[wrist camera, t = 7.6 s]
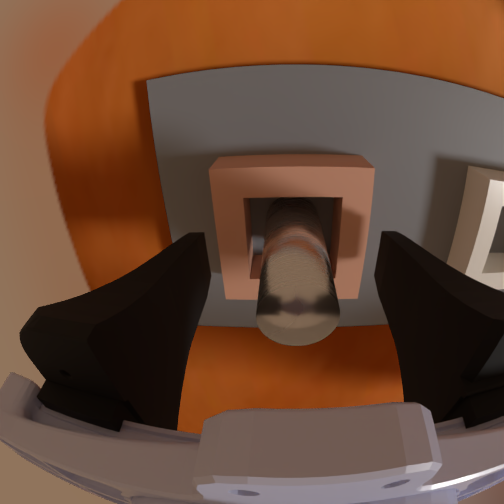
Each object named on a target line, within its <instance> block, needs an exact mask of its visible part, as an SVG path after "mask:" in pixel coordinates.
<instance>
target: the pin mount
mask: <svg viewBox="0 0 504 504" xmlns="http://www.w3.org/2000/svg"><path fill="white" fill-rule="evenodd" d="M502 206H504V172H503V171H498V170H492V169H486V168H480V167H474V166H468V171H467V177H466V183H465V189H464V194H463V199H462V204H461V209H460V214H459V218H458V222H457V227H456V231H455V235H454V239H453V242H452V246H451V250H450V253H449V257H448V260H447V263H446V264H448V265H450V266H451V267H453V268H454V269H456V270H458V271H460V272H462V273H463V274H465V275H467V276H469V277H471V278H473V279H475V280H477V281H479V282H481V283H483V284H485V285H488V286H490V287H492V288H494V289H497V290H500V289H504V253H489V251H490V248H491V244H492V241H493V238H494V235H495V231H496V228H497V224H498V220H499V216H500V213H501V208H502Z"/></svg>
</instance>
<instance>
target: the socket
mask: <svg viewBox="0 0 504 504" xmlns="http://www.w3.org/2000/svg"><path fill="white" fill-rule="evenodd" d="M374 174H375V168H374V167H373V166H372V165H371V164H370V163H369V162H368V161H367V160H366V159H365V158H364V157H363V156H361V155H332V154H273V155H244V156H225V157H218V159H217V160H216V161H215V162H214V163H213V165H212V166H211V167H210V169H209V177H210V186H211V194H212V202H213V210H214V218H215V225H216V233H217V240H218V248H219V255H220V262H221V269H222V276H223V283H224V290H225V297H226V299H237V300H258V291H259V282H260V273H261V263H262V255H253V242H252V228H251V214H250V200H249V198H264V197H334V202H333V219H332V234H331V247H330V254H328V257H329V261H330V265H331V270H332V274H333V279H334V283H335V288H336V293H337V297H338V299H358V294H359V288H360V283H361V277H362V271H363V265H364V259H365V252H366V246H367V239H368V231H369V223H370V215H371V206H372V196H373V186H374Z"/></svg>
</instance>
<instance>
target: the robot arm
mask: <svg viewBox="0 0 504 504" xmlns="http://www.w3.org/2000/svg"><path fill="white" fill-rule="evenodd" d="M374 278H375V282H376V287H377V291H378V296H379V299H380V301H381V304H382V307H383V310H384V313H385V315H386V318H387V321H388V324H389V327H390V330H391V332H392V335H393V338H394V342H395V345H396V349H397V354H398V359H399V365H400V370H401V378H402V385H403V394H404V402H391V403H383V404H374V405H364V406H352V407H338V408H317V409H261V408H253V409H239V410H227V411H224V412H222V413H220V414H217V415H215V416H213V417H210V418H208V419H206V420H204V425H203V430H202V434H195V433H188V432H181V431H177V425H178V415H179V407H180V400H181V393H182V387H183V381H184V375H185V369H186V365H187V360H188V355H189V350H190V347H191V343H192V340H193V337H194V334H195V331H196V328H197V326H198V323H199V320H200V317H201V314H202V311H203V308H204V305H205V302H206V299H207V296H208V291H209V286H210V281H211V271H210V265H209V259H208V252H207V246H206V240H205V233H204V232H189V233H187V234H186V235H184V236H182V237H181V238H180V239H178V240H177V241H175V242H174V243H173V244H171V245H170V246H168V247H167V248H166V249H164V250H163V251H161V252H160V253H159V254H157V255H156V256H154V257H153V258H151V259H150V260H148V261H147V262H145V263H144V264H142V265H141V266H139V267H138V268H136V269H135V270H133V271H131V272H130V273H128V274H126V275H124V276H122V277H120V278H119V279H117V280H115V281H113V282H111V283H108V284H106V285H104V286H102V287H100V288H97V289H95V290H93V291H91V292H88V293H85V294H83V295H80V296H77V297H74V298H71V299H68V300H65V301H61V302H57V303H54V304H50V305H46V306H42V307H38V308H37V310H36V311H35V312H34V313H33V315H32V316H31V317H30V318H29V320H28V321H27V322H26V324H25V325H24V326H23V328H22V329H21V331H20V341H21V344H22V347H23V349H24V350H25V352H26V354H27V355H28V357H29V358H30V359H31V361H32V362H33V364H34V365H35V366H36V367H37V369H38V370H39V371H40V373H41V374H42V375H43V377H44V378H45V379H46V381H45V383H44V384H43V386H42V388H40V387H39V386H38V385H37V384H36V383H34V382H33V381H31V380H30V379H28V378H25V377H23V376H20V375H18V374H16V373H13V372H11V373H10V374H9V376H8V377H7V379H6V381H5V382H4V384H3V386H2V387H1V389H0V440H1V441H2V442H3V443H4V444H6V445H7V446H8V447H9V448H11V449H12V450H13V451H15V452H16V453H17V454H19V455H20V456H21V457H23V458H24V459H26V460H27V461H29V462H31V463H32V464H34V465H36V466H38V467H40V468H41V469H43V470H45V471H47V472H49V473H51V474H52V475H54V476H56V477H58V478H60V479H62V480H64V481H66V482H68V483H70V484H72V485H74V486H76V487H78V488H81V489H83V490H85V491H87V492H90V493H92V494H94V495H97V496H99V497H102V498H104V499H106V500H109V501H112V502H114V503H117V504H458V501H461V500H463V499H466V498H468V497H470V496H473V495H475V494H477V493H479V492H482V491H484V490H486V489H488V488H490V487H492V486H494V485H496V484H498V483H500V482H502V481H504V292H502V291H499V290H497V289H494V288H492V287H490V286H488V285H485V284H483V283H481V282H479V281H477V280H475V279H473V278H471V277H469V276H467V275H465V274H463V273H462V272H460V271H458V270H456V269H454V268H453V267H451V266H450V265H448V264H446V263H445V262H443V261H442V260H440V259H439V258H437V257H436V256H434V255H433V254H431V253H430V252H428V251H427V250H425V249H424V248H422V247H421V246H419V245H418V244H416V243H415V242H414V241H412V240H411V239H409V238H408V237H406V236H404V235H403V234H401V233H399V232H397V231H381V238H380V244H379V250H378V256H377V261H376V267H375V272H374Z"/></svg>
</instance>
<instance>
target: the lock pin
mask: <svg viewBox="0 0 504 504" xmlns="http://www.w3.org/2000/svg"><path fill="white" fill-rule="evenodd" d="M339 320H340V307H339V302H338V297H337V293H336V288H335V283H334V279H333V274H332V270H331V265H330V261H329V257H328V252H327V248H326V244H325V240H324V236H323V232H322V228H321V224H320V220H319V216H318V212H317V209H316V207H315V206H314V204H313V203H312V202H311V201H310V200H309V199H307V198H305V197H279V198H278V199H276V200H275V201H274V202H273V203H272V204H271V205H270V207H269V209H268V211H267V216H266V225H265V235H264V244H263V254H262V263H261V273H260V282H259V291H258V300H257V309H256V322H257V325H258V327H259V329H260V330H261V332H262V333H263V334H264V335H265V336H266V337H268V338H269V339H271V340H273V341H275V342H277V343H280V344H284V345H290V346H302V345H308V344H312V343H315V342H318V341H320V340H322V339H324V338H326V337H327V336H328V335H330V334H331V333H332V332H333V331H334V329H335V328H336V326H337V325H338V323H339Z"/></svg>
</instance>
